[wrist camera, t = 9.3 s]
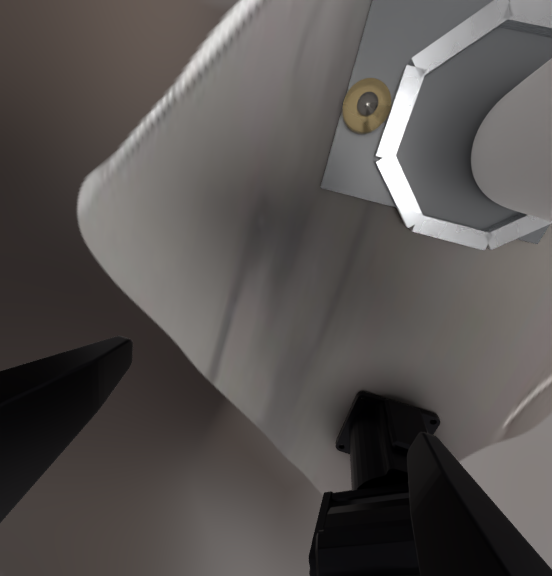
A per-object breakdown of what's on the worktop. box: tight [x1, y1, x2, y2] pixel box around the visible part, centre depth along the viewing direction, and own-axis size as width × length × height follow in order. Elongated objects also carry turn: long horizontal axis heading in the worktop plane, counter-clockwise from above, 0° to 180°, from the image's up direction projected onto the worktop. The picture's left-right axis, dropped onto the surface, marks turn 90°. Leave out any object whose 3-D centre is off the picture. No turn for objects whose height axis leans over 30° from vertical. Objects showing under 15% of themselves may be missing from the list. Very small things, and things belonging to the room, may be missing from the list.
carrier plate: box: [320, 0, 552, 244], centre depth 16 cm, size 10×13×1 cm
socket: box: [375, 0, 552, 250], centre depth 15 cm, size 11×11×1 cm
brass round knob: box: [342, 78, 391, 134], centre depth 16 cm, size 2×2×2 cm
